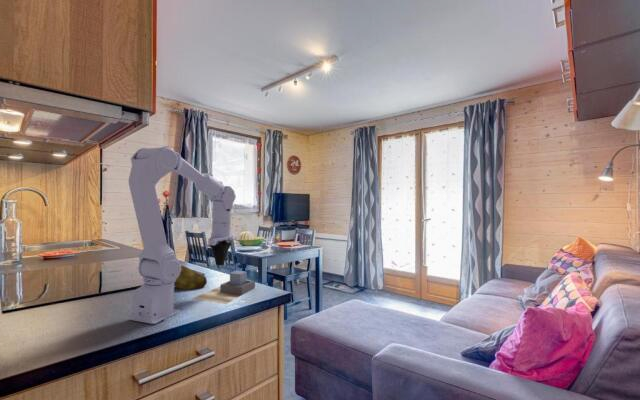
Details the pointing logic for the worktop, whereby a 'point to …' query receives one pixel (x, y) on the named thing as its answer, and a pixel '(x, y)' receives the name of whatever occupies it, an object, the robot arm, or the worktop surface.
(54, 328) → the worktop surface
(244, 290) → the frame
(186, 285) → the potato
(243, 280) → the plug
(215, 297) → the board
